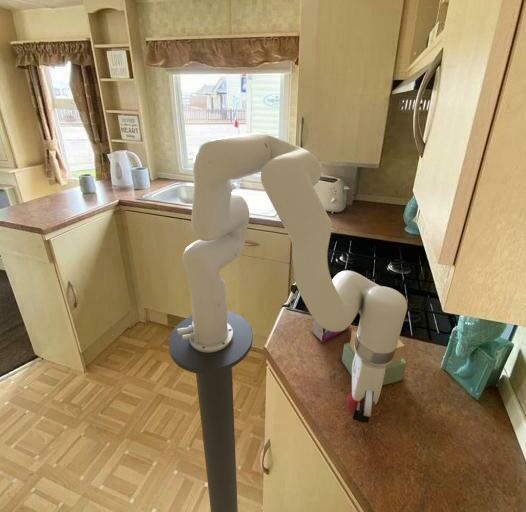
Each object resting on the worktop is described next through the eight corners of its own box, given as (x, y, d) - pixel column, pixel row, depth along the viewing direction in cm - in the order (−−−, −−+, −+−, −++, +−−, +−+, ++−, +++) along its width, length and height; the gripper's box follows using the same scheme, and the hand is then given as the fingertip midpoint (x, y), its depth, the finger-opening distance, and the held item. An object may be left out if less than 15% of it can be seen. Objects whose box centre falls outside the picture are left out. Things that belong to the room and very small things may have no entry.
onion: (340, 415, 70) (345, 390, 67) (351, 397, 74) (357, 373, 71) (364, 432, 67) (370, 407, 64) (375, 413, 71) (382, 389, 68)
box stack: (361, 391, 77) (368, 358, 72) (341, 360, 86) (346, 329, 81) (402, 379, 80) (411, 347, 76) (379, 351, 89) (386, 320, 84)
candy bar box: (338, 319, 101) (344, 276, 94) (349, 329, 97) (356, 284, 90) (311, 332, 95) (315, 288, 88) (322, 343, 91) (327, 297, 84)
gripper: (354, 314, 70) (343, 371, 78) (355, 377, 55) (341, 440, 63) (389, 320, 69) (374, 377, 76) (400, 387, 53) (380, 450, 61)
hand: (359, 405), depth 69 cm, fingers closed on onion, 5 cm apart
